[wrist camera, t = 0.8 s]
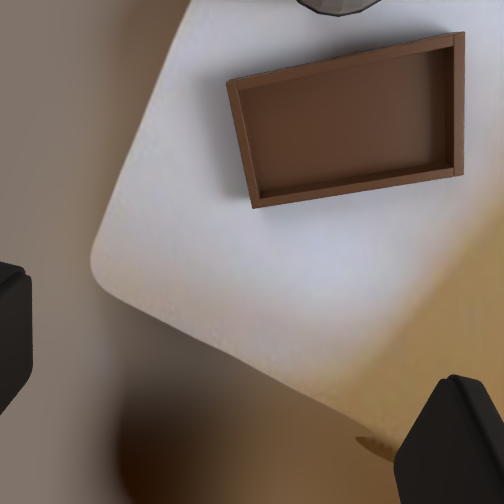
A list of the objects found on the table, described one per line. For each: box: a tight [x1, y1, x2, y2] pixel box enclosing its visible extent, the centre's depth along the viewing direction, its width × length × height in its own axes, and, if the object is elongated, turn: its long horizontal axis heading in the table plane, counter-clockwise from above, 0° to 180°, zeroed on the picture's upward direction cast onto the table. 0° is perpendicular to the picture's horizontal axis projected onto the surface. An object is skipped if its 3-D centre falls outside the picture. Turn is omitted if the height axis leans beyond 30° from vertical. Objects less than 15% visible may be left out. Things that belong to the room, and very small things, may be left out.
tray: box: [226, 32, 465, 209], centre depth 35 cm, size 18×11×3 cm, turn 101°
